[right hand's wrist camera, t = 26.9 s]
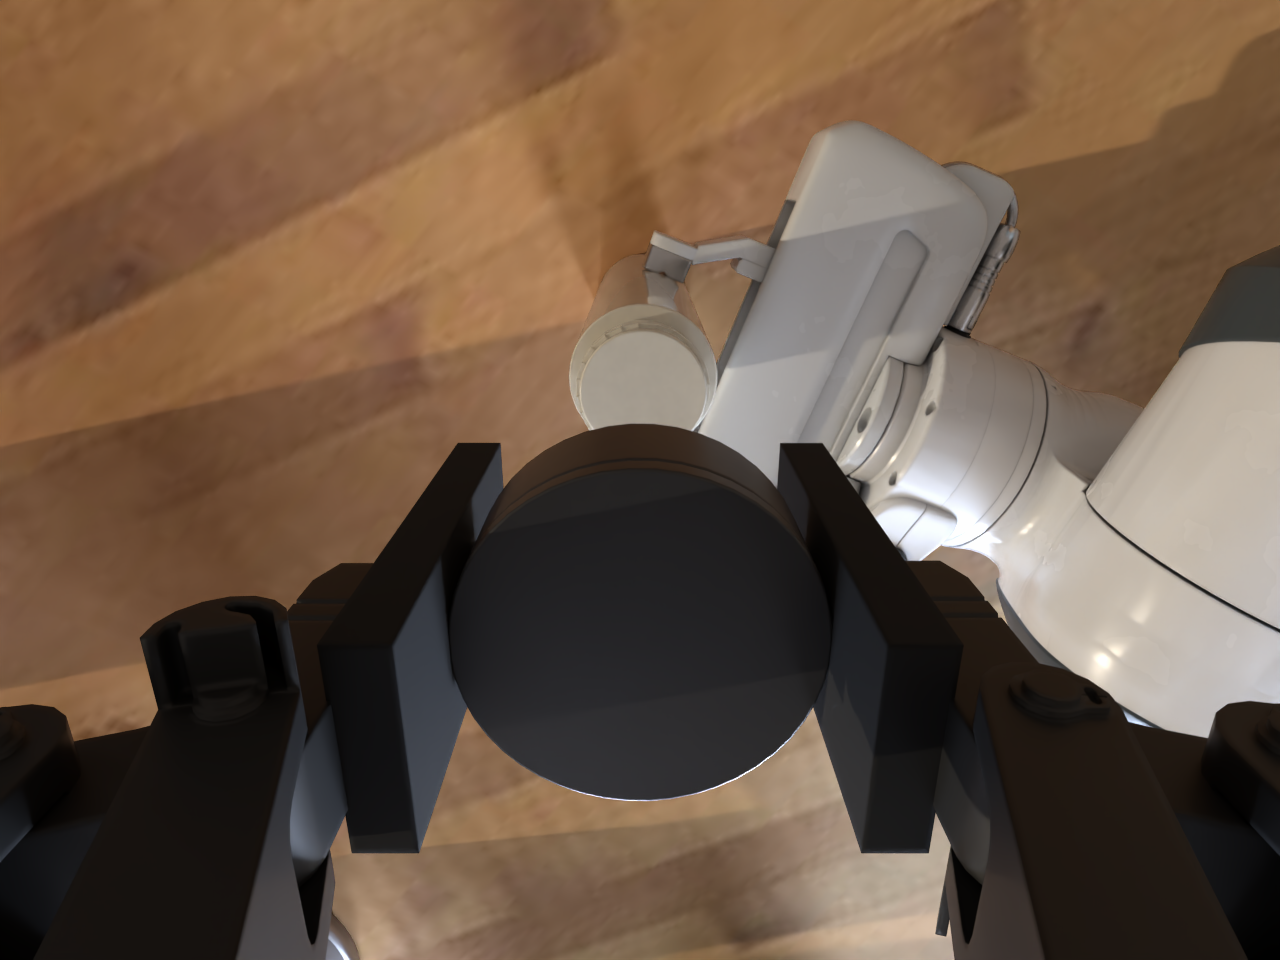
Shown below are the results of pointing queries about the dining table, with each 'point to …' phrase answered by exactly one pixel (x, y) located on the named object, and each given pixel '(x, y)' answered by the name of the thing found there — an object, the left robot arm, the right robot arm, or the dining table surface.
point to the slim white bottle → (642, 353)
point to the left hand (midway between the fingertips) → (622, 316)
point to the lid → (640, 616)
